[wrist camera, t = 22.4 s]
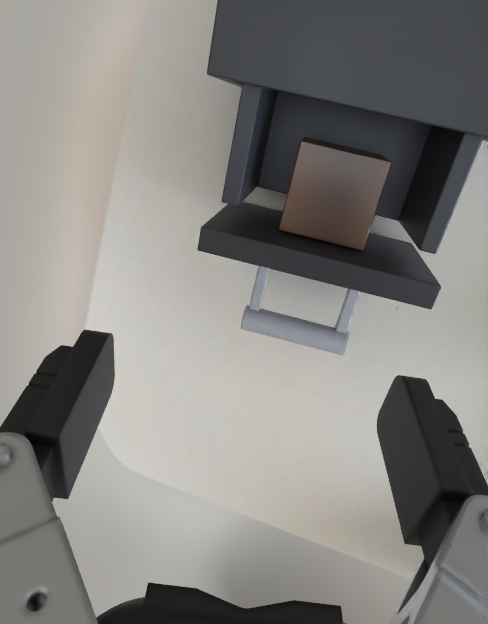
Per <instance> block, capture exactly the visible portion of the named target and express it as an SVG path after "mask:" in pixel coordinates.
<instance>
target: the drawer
mask: <svg viewBox="0 0 488 624" xmlns="http://www.w3.org/2000/svg"><path fill="white" fill-rule="evenodd" d="M305 137H308V138H312V139H317V140H321V141H325V142H329V143H334V144H338V145H342V146H347V147H351V148H355V149H359V150H364V151H368V152H372V153H376V154H381V155H383V156H384V157H386V158H387V159H389V160H390V161H392V166H391V168H390V171H389V174H388V177H387V180H386V183H385V186H384V189H383V192H382V195H381V198H380V201H379V204H378V207H377V210H376V213H375V215H378V216H382V217H386V218H390V219H394V220H398V221H399V222H400V223H401V225H402V226H403V228H404V229H405V230H406V232H407V233H408V235H409V236H410V237H411V239H412V240H413V242H414V243H415V244H416V246H417V247H418V249H419V250H421V251H425V252H429V253H433V254H435V253H437V251H438V248H439V246H440V243H441V241H442V238H443V236H444V233H445V231H446V228H447V226H448V224H449V221H450V219H451V216H452V214H453V211H454V209H455V206H456V204H457V201H458V199H459V197H460V194H461V192H462V189H463V187H464V184H465V182H466V179H467V177H468V174H469V172H470V169H471V167H472V165H473V162H474V160H475V157H476V155H477V152H478V150H479V147H480V145H481V142H482V140H483V138H484V137H480V136H476V135H471V134H467V133H463V132H458V131H454V130H449V129H445V128H440V127H436V126H431V125H427V124H422V123H418V122H414V121H409V120H405V119H400V118H396V117H391V116H387V115H382V114H378V113H373V112H369V111H365V110H360V109H356V108H351V107H347V106H342V105H338V104H333V103H329V102H324V101H320V100H316V99H311V98H307V97H302V96H298V95H293V94H289V93H284V92H280V91H275V90H271V89H267V88H262V87H258V86H253V85H249V84H244V83H243V86H242V92H241V97H240V103H239V108H238V114H237V119H236V125H235V130H234V136H233V141H232V147H231V152H230V158H229V163H228V169H227V174H226V180H225V185H224V191H223V196H222V202H224V203H228V205H226V206H225V207H224V208H223V209H222V210H221V211H219V212H218V213H217V214H216V215H215V216H214V217H212V218H211V219H210V220H209V221H208V222H207V223H205V224H204V225H203V226H202V227H201V232H200V238H199V244H198V250H199V251H202V252H206V253H210V254H214V255H218V256H222V257H226V258H230V259H234V260H238V261H242V262H246V263H250V264H254V265H258V266H259V268H258V272H257V276H256V281H255V285H254V289H253V294H252V298H251V302H250V306H248V305H247V306H246V308H245V312H244V315H243V319H242V323H241V329H245V330H248V331H252V332H256V333H260V334H264V335H267V336H271V337H275V338H279V339H282V340H286V341H290V342H294V343H298V344H301V345H305V346H309V347H313V348H316V349H320V350H324V351H328V352H332V353H335V354H339V355H343V354H344V352H345V350H346V347H347V344H348V339H349V332H348V331H347V329H348V326H349V323H350V321H351V318H352V315H353V312H354V309H355V306H356V303H357V300H358V297H359V294H360V292H364V293H368V294H372V295H376V296H380V297H384V298H388V299H392V300H396V301H400V302H404V303H408V304H412V305H416V306H420V307H423V308H427V309H432V307H433V305H434V303H435V300H436V298H437V296H438V293H439V291H440V289H441V286H440V284H439V283H438V281H437V280H436V278H435V277H434V275H433V274H432V273H431V271H430V270H429V268H428V267H427V265H426V264H425V262H424V261H423V259H422V258H421V257H420V255H419V254H418V252H417V251H416V249H415V248H414V246H413V245H412V244H411V243H408V242H404V241H400V240H396V239H392V238H387V237H383V236H379V235H375V234H371V233H369V234H368V237H367V240H366V243H365V246H364V249H363V250H358V249H354V248H350V247H346V246H342V245H338V244H334V243H330V242H326V241H322V240H318V239H314V238H310V237H306V236H302V235H298V234H294V233H290V232H286V231H282V230H279V226H280V222H281V218H282V214H283V212H281V211H277V210H273V209H268V208H264V207H260V206H256V205H252V204H248V203H244V202H242V201H243V200H244V199H245V198H246V197H247V196H248V195H249V194H250V193H251V192H252V191H253V190H254V189H255V188H256V187H261V188H265V189H269V190H274V191H278V192H282V193H286V194H288V189H289V185H290V181H291V177H292V173H293V169H294V165H295V161H296V157H297V153H298V149H299V145H300V141H301V140H302V139H303V138H305ZM270 269H273V270H277V271H281V272H285V273H289V274H293V275H297V276H301V277H305V278H309V279H313V280H317V281H321V282H325V283H329V284H333V285H337V286H341V287H345V288H348V291H347V294H346V297H345V300H344V303H343V306H342V309H341V312H340V315H339V318H338V321H337V324H336V328H333V327H329V326H325V325H322V324H318V323H314V322H310V321H306V320H302V319H298V318H295V317H291V316H287V315H283V314H279V313H275V312H272V311H268V310H264V309H260V307H261V303H262V299H263V295H264V291H265V287H266V283H267V279H268V275H269V271H270Z"/></svg>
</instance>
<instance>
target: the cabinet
mask: <svg viewBox="0 0 488 624" xmlns="http://www.w3.org/2000/svg"><path fill="white" fill-rule="evenodd" d="M207 74H208V75H210V76H213V77H215V78H218V79H221V80H223V81H226V82H229V83H231V84H234V85H237V86H239V87H242V86H243V83H244V84H249V85H253V86H258V87H262V88H267V89H271V90H275V91H280V92H284V93H289V94H293V95H298V96H302V97H307V98H311V99H316V100H320V101H324V102H329V103H333V104H338V105H342V106H347V107H351V108H356V109H360V110H365V111H369V112H373V113H378V114H382V115H387V116H391V117H396V118H400V119H405V120H409V121H414V122H418V123H422V124H427V125H431V126H436V127H440V128H445V129H449V130H454V131H458V132H463V133H467V134H471V135H476V136H480V137H484V138H483V140H484V141H488V0H218V3H217V9H216V16H215V23H214V29H213V36H212V43H211V49H210V56H209V63H208V70H207Z"/></svg>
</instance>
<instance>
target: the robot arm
mask: <svg viewBox="0 0 488 624" xmlns="http://www.w3.org/2000/svg"><path fill="white" fill-rule="evenodd" d="M114 377H115V370H114V340H113V335H112V334H111V333H105V332H98V331H91V330H84V331H83V332H82V333H81V334H80V336H79V338H78V340H77V341H76V343H75V345H74V347H70V346H63V345H62V346H60V347H58V348H57V349H56V350H54V351H53V352H52V353H50V354H49V355H47V356H46V357H45V359H44V360H43V362H42V363H41V365H40V366H39V368H38V369H37V372H36V374H34V376H33V377H32V379H31V380H30V382H29V385H28V386H27V387H26V388H25V390H24V391H23V393H22V394H21V396H20V397H19V399H18V401H17V402H16V404H15V405H14V407H13V408H12V410H11V411H10V413H9V415H8V416H7V418H6V419H5V421H4V422H3V424H2V425H1V427H0V624H346V623H343V620H342V611H341V606H335V605H327V604H320V603H311V602H303V601H295V600H294V601H288V602H283V603H277V604H272V605H266V606H260V607H255V608H249V609H246V608H241V607H238V606H236V605H234V604H231V603H229V602H226V601H224V600H222V599H220V598H217V597H215V596H213V595H210V594H208V593H205V592H203V591H201V590H199V589H196V588H188V587H180V586H172V585H163V584H155V583H148V586H147V591H146V595H145V597H143V598H137V599H134V600H130V601H127V602H124V603H122V604H119V605H117V606H115V607H113V608H111V609H109V610H108V611H106V612H104V613H103V614H101V615H99V616H98V617H97V618H96V616H95V614H94V611H93V608H92V605H91V602H90V600H89V597H88V594H87V591H86V588H85V586H84V583H83V580H82V577H81V574H80V572H79V569H78V566H77V564H76V560H75V558H74V555H73V552H72V549H71V546H70V544H69V541H68V538H67V535H66V532H65V530H64V527H63V524H62V522H61V520H60V518H59V517H57V515H56V513H55V510H54V507H53V504H52V501H53V498H54V497H55V498H63V499H68V498H69V495H70V493H71V490H72V488H73V485H74V483H75V481H76V478H77V476H78V473H79V471H80V468H81V466H82V464H83V461H84V459H85V456H86V454H87V452H88V449H89V447H90V444H91V442H92V439H93V437H94V435H95V432H96V430H97V427H98V425H99V423H100V420H101V418H102V415H103V413H104V410H105V408H106V406H107V403H108V401H109V398H110V396H111V393H112V389H113V384H114ZM377 433H378V437H379V441H380V445H381V450H382V454H383V458H384V462H385V466H386V470H387V474H388V478H389V482H390V486H391V490H392V494H393V498H394V502H395V506H396V510H397V514H398V518H399V522H400V526H401V530H402V535H403V539H404V543H405V544H411V545H419V546H421V547H422V550H423V554H424V557H423V558H422V560H421V561H420V563H419V565H418V567H417V569H416V571H415V573H414V575H413V577H412V579H411V581H410V583H409V585H408V587H407V589H406V591H405V593H404V595H403V597H402V599H401V601H400V603H399V605H398V607H397V609H396V611H395V613H394V615H393V617H392V619H391V621H390V623H389V624H488V485H487V483H486V481H485V479H484V476H483V474H482V472H481V470H480V467H479V465H478V463H477V461H476V459H475V456H474V454H473V452H472V450H471V448H469V443H468V441H467V439H466V436H465V434H463V430H462V427H461V425H460V423H459V421H458V419H457V416H456V415H455V413H454V412H453V411H452V410H451V409H450V408H449V407H448V406H447V405H446V403H445V402H444V401H443V400H439V399H435V398H434V395H433V393H432V391H431V388H430V386H429V383H428V382H427V380H425V379H421V378H414V377H407V376H400V375H398V376H396V377H395V379H394V381H393V383H392V385H391V387H390V389H389V391H388V394H387V396H386V398H385V400H384V402H383V405H382V407H381V409H380V411H379V414H378V419H377Z"/></svg>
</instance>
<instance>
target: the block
mask: <svg viewBox="0 0 488 624" xmlns="http://www.w3.org/2000/svg"><path fill="white" fill-rule="evenodd" d="M391 166H392V161H390V160H389V159H387V158H386V157H384V156H383V155H381V154H376V153H372V152H368V151H364V150H359V149H355V148H351V147H347V146H342V145H338V144H334V143H329V142H325V141H321V140H317V139H312V138H308V137H305V138H303V139H302V140H301V141H300V145H299V149H298V153H297V157H296V161H295V165H294V169H293V173H292V177H291V181H290V185H289V189H288V194H287V198H286V202H285V206H284V210H283V214H282V218H281V222H280V226H279V230H282V231H286V232H290V233H294V234H298V235H302V236H306V237H310V238H314V239H318V240H322V241H326V242H330V243H334V244H338V245H342V246H346V247H350V248H354V249H358V250H363V249H364V246H365V243H366V240H367V237H368V234H369V231H370V228H371V225H372V222H373V219H374V216H375V213H376V210H377V207H378V204H379V201H380V198H381V195H382V192H383V189H384V186H385V183H386V180H387V177H388V174H389V171H390V168H391Z"/></svg>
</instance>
